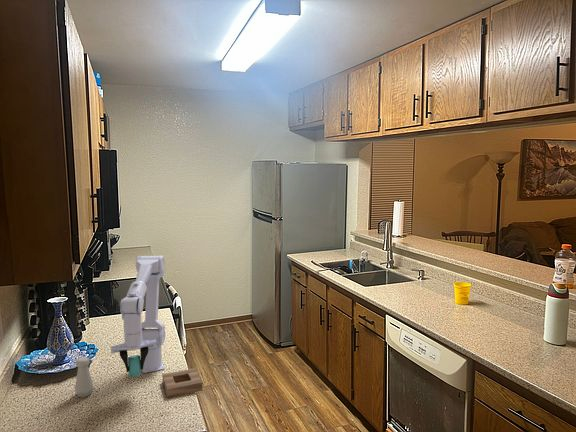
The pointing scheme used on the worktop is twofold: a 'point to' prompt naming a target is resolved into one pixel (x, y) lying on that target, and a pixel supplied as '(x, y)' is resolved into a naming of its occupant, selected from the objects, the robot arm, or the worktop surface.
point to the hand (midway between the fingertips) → (134, 369)
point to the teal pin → (134, 365)
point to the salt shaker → (83, 378)
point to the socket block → (182, 382)
